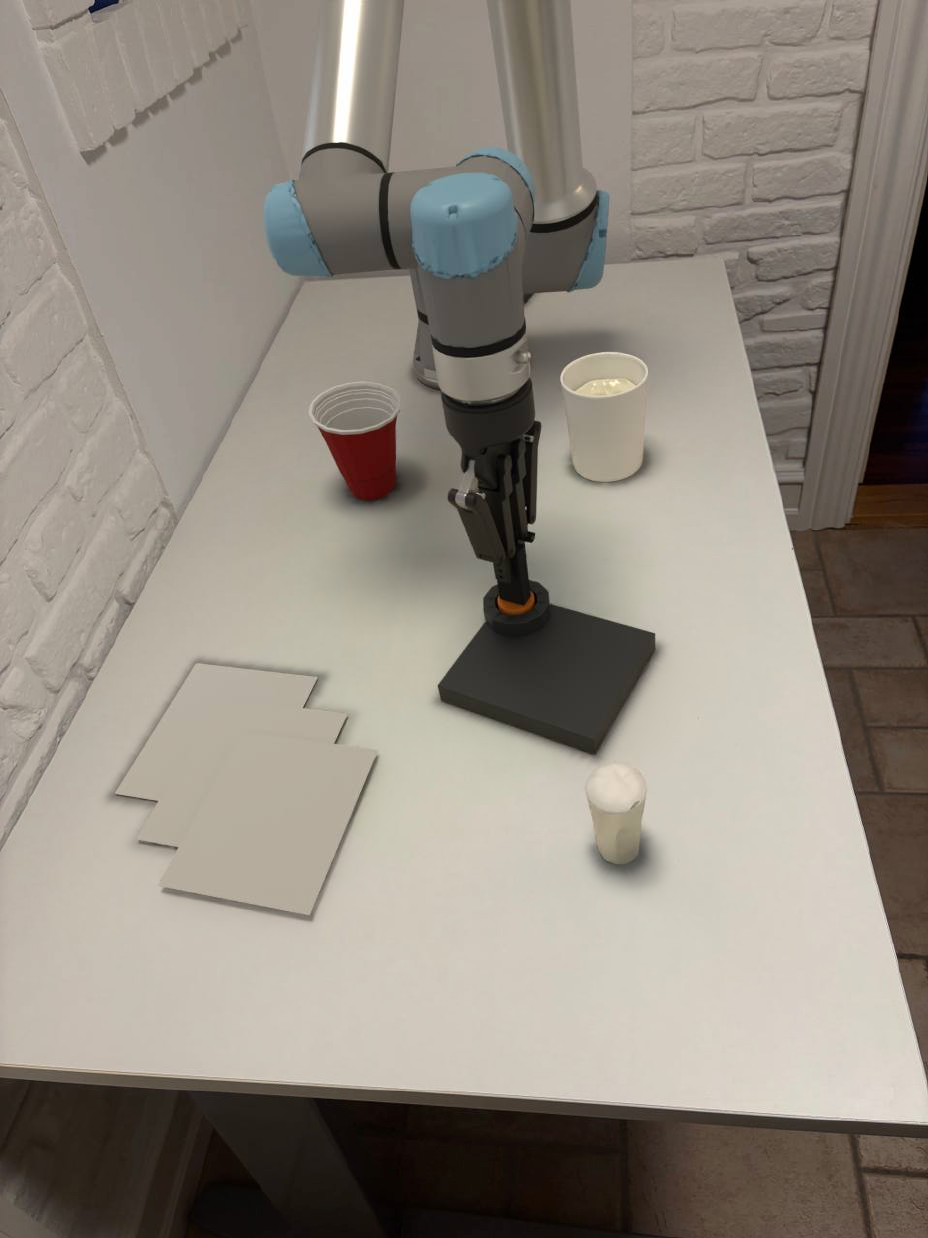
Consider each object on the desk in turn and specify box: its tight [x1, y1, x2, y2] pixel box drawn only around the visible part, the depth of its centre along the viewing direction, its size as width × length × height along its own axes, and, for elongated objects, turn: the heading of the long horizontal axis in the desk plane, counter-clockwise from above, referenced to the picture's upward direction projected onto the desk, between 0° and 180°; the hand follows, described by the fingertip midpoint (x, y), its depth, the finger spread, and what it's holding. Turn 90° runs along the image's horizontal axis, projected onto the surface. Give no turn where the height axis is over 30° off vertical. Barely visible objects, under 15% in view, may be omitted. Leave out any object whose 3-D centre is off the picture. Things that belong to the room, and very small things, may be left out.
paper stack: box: [114, 662, 379, 916], centre depth 87 cm, size 23×25×1 cm
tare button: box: [498, 591, 535, 615], centre depth 94 cm, size 4×4×2 cm
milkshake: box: [584, 761, 648, 866], centre depth 73 cm, size 4×5×10 cm
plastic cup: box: [308, 380, 402, 502], centre depth 114 cm, size 11×11×12 cm
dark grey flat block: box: [437, 579, 656, 755], centre depth 91 cm, size 15×17×4 cm
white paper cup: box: [559, 351, 649, 483], centre depth 111 cm, size 10×10×12 cm
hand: (515, 597), depth 93 cm, fingers closed
